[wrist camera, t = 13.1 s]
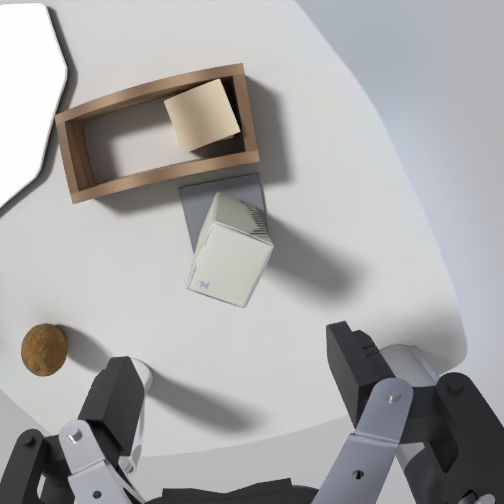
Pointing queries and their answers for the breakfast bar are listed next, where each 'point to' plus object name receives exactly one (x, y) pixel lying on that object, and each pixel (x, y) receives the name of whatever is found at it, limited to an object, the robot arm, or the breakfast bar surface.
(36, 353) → the fruit
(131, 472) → the beer glass
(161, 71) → the breakfast bar surface
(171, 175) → the wooden tray
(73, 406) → the breakfast bar surface
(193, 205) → the mat
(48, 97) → the plate
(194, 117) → the offcut
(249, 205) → the box
